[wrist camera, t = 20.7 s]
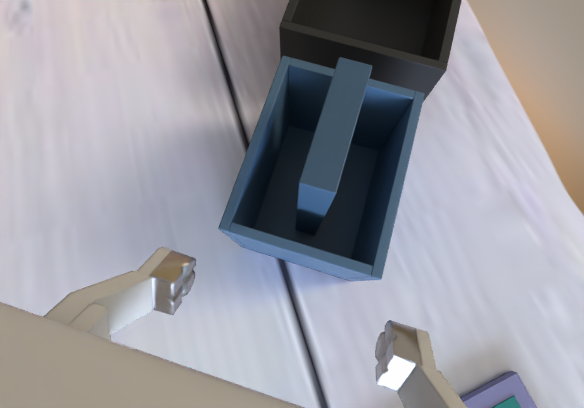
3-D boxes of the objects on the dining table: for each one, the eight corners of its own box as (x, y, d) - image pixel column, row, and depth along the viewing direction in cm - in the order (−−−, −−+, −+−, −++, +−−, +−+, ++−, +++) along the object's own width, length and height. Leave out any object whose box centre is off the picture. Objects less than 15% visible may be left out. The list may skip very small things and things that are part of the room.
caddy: (351, 281, 30) (410, 278, 15) (241, 246, 30) (195, 211, 16) (385, 149, 33) (460, 42, 18) (284, 120, 34) (280, -4, 19)
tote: (411, 118, 34) (446, 70, 26) (281, 82, 35) (279, 26, 27) (441, -8, 38) (479, -81, 31) (324, -37, 39) (333, -114, 32)
